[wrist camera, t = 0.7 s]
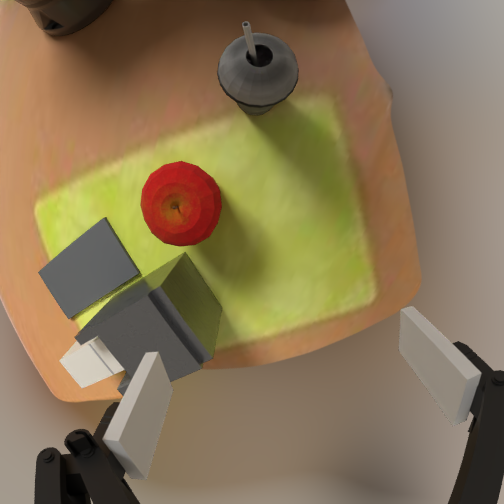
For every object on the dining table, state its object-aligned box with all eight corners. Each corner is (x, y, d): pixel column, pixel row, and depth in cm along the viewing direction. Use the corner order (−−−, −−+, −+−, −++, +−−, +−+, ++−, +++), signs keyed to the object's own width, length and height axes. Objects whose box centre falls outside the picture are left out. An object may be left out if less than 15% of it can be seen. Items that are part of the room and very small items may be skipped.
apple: (157, 170, 37) (121, 171, 26) (221, 158, 37) (209, 152, 26) (168, 235, 40) (138, 261, 28) (232, 225, 39) (225, 248, 28)
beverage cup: (264, 136, 37) (281, 102, 17) (215, 107, 35) (182, 49, 16) (295, 91, 35) (337, 24, 16) (246, 63, 34) (244, -23, 15)
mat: (40, 271, 41) (38, 272, 40) (105, 217, 39) (103, 217, 38) (70, 317, 43) (68, 319, 42) (140, 271, 41) (138, 273, 40)
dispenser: (113, 296, 42) (70, 341, 29) (185, 251, 40) (157, 289, 27) (149, 345, 44) (120, 401, 31) (222, 307, 42) (211, 363, 29)
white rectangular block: (88, 327, 43) (59, 360, 34) (152, 289, 42) (127, 322, 32) (107, 352, 44) (82, 388, 35) (172, 317, 43) (153, 356, 33)
